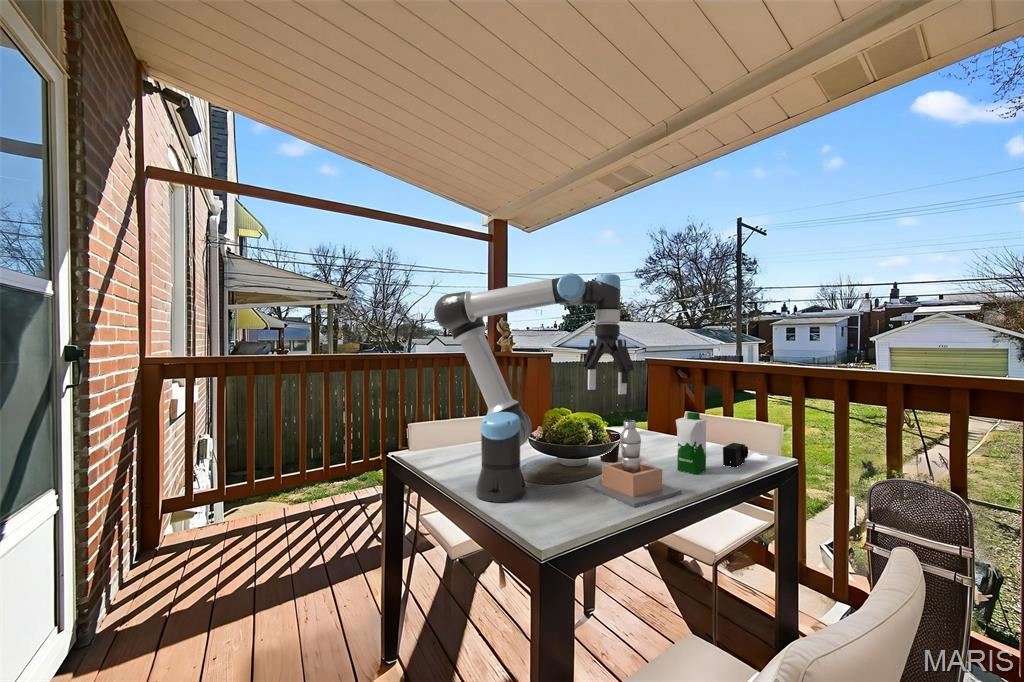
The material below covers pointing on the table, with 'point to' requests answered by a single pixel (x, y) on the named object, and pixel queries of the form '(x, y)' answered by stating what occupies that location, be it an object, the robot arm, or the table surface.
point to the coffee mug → (611, 454)
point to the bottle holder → (632, 485)
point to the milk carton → (691, 443)
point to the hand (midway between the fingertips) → (606, 391)
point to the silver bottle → (630, 447)
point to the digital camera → (734, 454)
